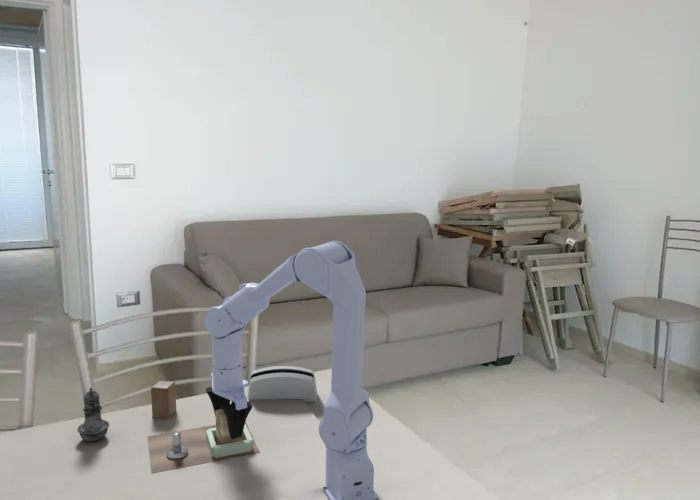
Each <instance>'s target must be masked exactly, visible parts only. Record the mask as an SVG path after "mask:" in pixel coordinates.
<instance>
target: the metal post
mask: <svg viewBox="0 0 700 500" xmlns="http://www.w3.org/2000/svg"><path fill="white" fill-rule="evenodd" d="M173 432H174V433H172V442H173V448H170V449H169V450H168V451H167V452H166V456H167V458H168V459H171V460H178V459H182V458H184V457H186V456H187V455H188V449H187V448H186V447H183V446H181V432H177V431H173Z"/></svg>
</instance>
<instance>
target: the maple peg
mask: <svg viewBox="0 0 700 500" xmlns="http://www.w3.org/2000/svg"><path fill="white" fill-rule="evenodd" d="M215 425H216V443H217V444H218V445H222V444H227V443H233V442H238V441H243V435H242V437H239V438H235V439H231V437H230V434H229V429H228V423H227V419H226V416H225V414H224V412H223V410H222V409H219V410H216V417H215Z"/></svg>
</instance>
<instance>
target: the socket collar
mask: <svg viewBox="0 0 700 500" xmlns="http://www.w3.org/2000/svg"><path fill="white" fill-rule="evenodd" d="M246 424H247V423H246ZM246 424H245V425H244V429H243V433H242V435H243V440H244V441H238V442H233V443H227V444H222V445H216V443H215V439H216V428H211V429H208V430H207V431H206V440H207V443H208V447H209V450H210V453H211V456H212V457H215V458H218V457H224V456H229V455H234V454H239V453H245V452H250V451H251V450H253V439H254V438H253V439H252V437H251V435H250V433H249V430H250V429H249V430H248V428H249V427H248V428H247V426H248V425H247V426H246Z"/></svg>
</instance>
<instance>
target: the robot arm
mask: <svg viewBox="0 0 700 500" xmlns="http://www.w3.org/2000/svg"><path fill="white" fill-rule="evenodd" d="M299 282H301V283H303V284H304V285H306V286H307V287H309V288H311V289H312V290H314V291H315V292H318V293H319V294H320V295H322V296H324V297H326V298H327V299H328V300H329V301H330V302H331V303H332V305H333V308H332V311H333V312H332V348H331V351H332V352H331V354H332V355H331V385H330V387H331V389H330V392H329V396H328V397H327V400H326V402H325V405H324V407H323V416H322V418H321V420H320V422H319V424H318V434H319V437H320V440H321V441H322V442H323V444H324V446H325V485H326V486H323V487H322V489H323V490H324V492H325V494H326V496H327V497H328V499H329V500H378V499H379V495H378V494H377V492H376V491H375V490H374V484H375V483H374V482H375V481H374V476H375V475H374V474H375V467H374V464H373V462H372V460H371V458H370V457H369V455H368V449H367V442H368V441H367V440H368V438H367V433H368V432H367V431H368V430H367V428H368V427H370V426H371V424H372V423H373V420H374V412H373V407H372V406H371V403H370V393H369V392H368V391H367V390H366V389H364V388H363V387H364V386H363V383H364V382H363V379H364V360H365V359H364V353H365V332H366V331H365V330H366V329H365V328H366V327H365V326H366V300H367V299H366V297H367V296H366V295H367V293H366V287H365V285H364V284H363V280H362V278H361V275H360V273H359V271H358V268H357V265H356V254H355V253H354V252H353V251H352V250H351V249H350V248H348V246H347V245H345V244H344V243H343V242H341V241H339V240H331V241H327V242H325V243H323V244H319V245H316V246H312V247H305V248H302V249H301V250H300V251H299V252H298V253H295V254H292V255H291V256H289V257H288V258H287V259H286V260H285V261H284V262H283V263H281V264H280V265H279V266H278V267H277V268H276V269H274V270H273V271H272V272H271V273H269V274H268V275H267V276H266V277H265V278H264V279H263V280H261V281H260V282H259V283H257V282H249V283H248V282H244V283H241V284H240V285H239V286H237V287H238V291H237V292H235V293H234V294H233V295H231V296H227V297H225V298H224V299H223V303H222V304H221V305H218V306H213V307H210V308H209V309H208V311H207V312H206V313H205V316H204V327H205V329H206V331H207V332H208V333H209V334H210V335H211V353H212V354H211V356H212V358H211V359H212V361H211V362H212V372H211V373H210V383H211V386H209V387H206V388H205V392H206V394H207V395H208V397H209V399H210V401H211V405H212V408H213V409H212V410H213V412H214V415H215V416H214V417H215V418H216V410H219V409H222V410H223V412H224V414H225V416H226V419H227V423H228V429H229V434H230V437H231V439H235V438H239V437H242V433H243V429H244V425H245V421H246V420H247V418H248V416H249V415H250V412H251V411H252V409H253V403H252V402H251V401H250V400H248V397H246V394H245V393H246V392H245V388H247V387H249V381H248V380H247V379H243V377H244V375H243V373H244V372H243V366H244V365H243V337H244V333H245V328H246V327H247V325H248V323H249V322H250V321H251V320H253V319H255V317H257V316H259V315H260V314H261V313H262V312H264V311H266V309H268V307H269V306H270V304H271V303H270V302H271V301H270V298H272V297H273V296H274V295H276V294H277V293H279V292H280V291H282V290H283V289H285V288H287V287H288V286H289V285H291V284H293V283H295V284H297V283H299ZM246 422H247V421H246Z"/></svg>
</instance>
